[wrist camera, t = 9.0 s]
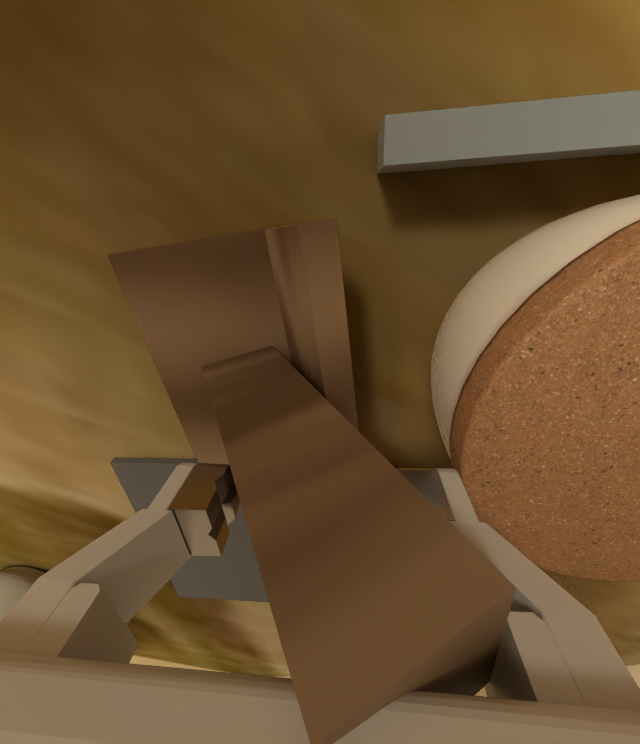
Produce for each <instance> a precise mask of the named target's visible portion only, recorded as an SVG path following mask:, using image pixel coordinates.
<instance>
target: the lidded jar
mask: <svg viewBox="0 0 640 744" xmlns="http://www.w3.org/2000/svg"><path fill="white" fill-rule="evenodd" d="M430 378H431V392H432V403H433V408H434V412H435V416H436V420H437V424H438V427H439V430H440V434H441V437H442V440H443V442H444V445H445V448H446V450H447V453H448V455H449V458H450V460H451V465H452V468H453V469H456V470H457V471H458V473H459V476H460V478H461V480H462V483H463V485H464V487H465V490H466V492H467V494H468V497H469V499H470V501H471V504H472V506H473V508H474V511H475V513H476V515H477V518H478V520H479V522H484V523H487V524H488V525H489V526H490V527H492V528H493V529H494V530H495V531H496V532H497V533H499V534H500V535H501V536H502V537H503V538H505V539H506V540H507V541H508V542H509V543H510V544H512V545H513V546H514V547H515V548H516V549H517V550H519V551H520V552H521V553H522V554H523V555H525V556H526V557H527V558H528V559H529V560H530V561H532V562H533V563H534V564H535V565H536V566H538V567H541V568H544V569H547V570H549V571H552V572H555V573H560V574H565V575H570V576H575V577H580V578H588V579H597V580H606V581H640V195H635V196H631V197H627V198H623V199H619V200H615V201H611V202H606V203H602V204H598V205H595V206H593V207H590V208H587V209H584V210H582V211H579V212H576V213H573V214H571V215H568V216H566V217H563V218H561V219H558V220H555V221H553V222H550V223H548V224H546V225H544V226H542V227H540V228H538V229H536V230H535V231H533V232H531V233H529V234H527V235H526V236H524V237H522V238H520V239H519V240H517V241H516V242H514V243H513V244H512V245H510V246H509V247H507V248H506V249H505V250H503V251H502V252H501V253H499V254H498V255H496V256H495V257H494V258H492V259H491V260H490V261H489V262H488V263H487V264H485V265H484V266H483V267H482V268H481V269H480V270H479V271H478V272H477V273H476V274H475V275H474V276H473V277H472V278H471V279H470V280H469V282H468V283H467V284H466V285H465V286H464V288H463V289H462V290H461V291H460V292H459V294H458V295H457V297H456V298H455V300H454V301H453V303H452V305H451V306H450V308H449V309H448V311H447V313H446V315H445V317H444V320H443V322H442V324H441V326H440V329H439V331H438V334H437V338H436V341H435V345H434V349H433V352H432V359H431V370H430Z"/></svg>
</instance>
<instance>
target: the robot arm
mask: <svg viewBox="0 0 640 744" xmlns="http://www.w3.org/2000/svg"><path fill="white" fill-rule="evenodd" d="M398 471H399V472H400V473H401V474H402V475H403V476H404V477H405V478H406V479H407V480H408V481H409V482H410V483H411V484H412V485H413V486H414V487H415V488H416V489H417V490H418V491H419V492H420V493H421V494H422V495H423V496H424V497H425V498H426V499H427V500H428V501H429V502H430V503H431V504H432V505H433V506H434V507H435V508H436V509H437V510H438V511H439V512H440V513H441V514H442V515H443V516H444V517H445V518H446V519H447V520H448V521H449V522H450V523H451V524H452V525H453V526H454V527H455V528H456V529H457V530H458V531H459V532H460V533H461V534H462V535H463V536H464V537H465V538H466V539H467V540H468V541H469V542H470V543H471V544H472V545H473V546H474V547H475V548H476V549H477V550H478V551H479V552H480V553H481V554H482V555H483V556H484V557H485V558H486V559H487V560H488V561H489V562H490V563H491V564H492V565H493V566H494V567H495V568H496V569H497V570H498V571H499V572H501V573H502V574H503V575H504V576H505V577H506V578H507V579H508V580H509V581H510V582H511V583H512V584H513V585H514V586H515V587H516V590H515V594H514V597H513V601H512V605H511V608H510V612H509V615H508V619H507V622H506V626H505V629H504V633H503V636H502V640H501V644H500V647H499V651H498V654H497V658H496V661H495V665H494V668H493V672H492V675H491V679H490V682H489V683H488V684H486V685H485V686H484V687H485V690H486V694H487V697H482V696H471V695H460V694H450V693H439V692H428V691H418V690H417V691H412V692H410V693H408V694H405V695H404V696H402V697H400V698H398V699H397V700H395V701H393V702H392V703H390V704H389V705H387V706H386V707H384V708H383V709H381V710H380V711H378V712H377V713H376V714H374V715H373V716H371V717H370V718H369V719H367V720H366V721H364V722H363V723H362V724H360V725H359V726H357V727H356V728H355V729H353V730H352V731H350V732H349V733H348V734H346V735H345V736H343V737H342V738H341V739H339V740H338V741H337V742H335V743H334V744H640V689H639V687H638V686H637V684H636V682H635V681H634V679H633V677H632V676H631V674H630V672H629V671H628V670H627V667H626V666H625V664H624V663H623V661H622V659H621V658H620V656H619V654H618V653H617V651H616V649H615V648H614V646H613V645H612V643H611V641H610V640H609V638H608V636H607V635H606V633H605V631H604V630H603V628H602V626H601V625H600V623H599V622H598V620H597V618H596V617H595V615H594V614H593V613H592V612H590V611H589V610H588V609H587V608H586V607H584V606H583V605H582V604H581V603H580V602H579V601H577V600H576V599H575V598H574V597H573V596H572V595H570V594H569V593H568V592H567V591H566V590H564V589H563V588H562V587H561V586H560V585H559V584H557V583H556V582H555V581H554V580H553V579H552V578H550V577H549V576H548V575H547V574H546V573H544V572H543V571H542V570H541V569H540V568H539V567H537V566H536V565H535V564H534V563H533V562H532V561H530V560H529V559H528V558H527V557H526V556H525V555H523V554H522V553H521V552H520V551H519V550H517V549H516V548H515V547H514V546H513V545H512V544H510V543H509V542H508V541H507V540H506V539H505V538H503V537H502V536H501V535H500V534H499V533H497V532H496V531H495V530H494V529H493V528H492V527H490V526H489V525H488V524H487V523H484V522H479V520H478V518H477V515H476V513H475V511H474V508H473V506H472V504H471V501H470V499H469V497H468V494H467V492H466V490H465V487H464V485H463V483H462V480H461V478H460V476H459V473H458V471H457V470H456V469H446V468H436V469H434V468H398ZM233 479H234V478H233V475H232V471H231V468H230V464H212V463H185V462H182V463H180V464H179V465H177V466H176V468H175V469H174V471H173V472H172V474H171V475H170V477H169V478H168V480H167V481H166V483H165V484H164V485H163V487H162V488H161V490H160V491H159V493H158V494H157V496H156V497H155V499H154V500H153V501H152V503H151V504H150V506H149V507H148V509H141V510H140V511H138V512H137V513H135V514H134V515H132V516H131V517H129V518H128V519H126V520H125V521H123V522H122V523H120V524H119V525H117V526H116V527H114V528H113V529H111V530H110V531H108V532H107V533H105V534H104V535H102V536H101V537H99V538H98V539H96V540H95V541H93V542H92V543H90V544H89V545H87V546H86V547H84V548H83V549H81V550H80V551H78V552H77V553H75V554H74V555H72V556H71V557H69V558H68V559H66V560H65V561H63V562H62V563H60V564H59V565H57V566H56V567H54V568H53V569H51V570H50V571H48V572H47V573H45V574H44V575H42V576H41V577H39V578H38V579H37V580H36V582H35V583H34V584H33V585H32V586H31V587H30V589H29V590H28V591H27V592H26V593H25V594H24V596H23V597H22V598H21V599H20V600H19V601H18V603H17V604H16V605H15V606H14V607H13V608H12V610H11V611H10V612H9V613H8V614H7V616H6V617H5V618H4V619H3V620H2V621H1V623H0V744H310V741H309V738H308V734H307V731H306V727H305V724H304V720H303V717H302V713H301V710H300V706H299V703H298V700H297V696H296V693H295V689H294V686H293V682H292V679H290V678H279V677H268V676H258V675H247V674H236V673H225V672H215V671H203V670H193V669H183V668H172V667H160V666H151V665H140V664H129V662H130V660H131V658H132V656H133V654H134V652H135V649H136V647H137V640H136V638H135V636H134V635H133V633H132V632H131V630H130V629H129V628H128V626H127V625H126V624H127V623H128V622H129V621H130V620H131V619H132V618H133V617H134V616H135V615H136V613H137V612H138V611H139V610H140V609H141V608H142V607H143V606H144V605H145V604H146V603H147V602H148V601H149V600H150V599H151V598H152V597H153V596H154V595H155V594H156V593H157V592H158V591H159V590H160V589H161V588H162V587H163V586H164V585H165V584H166V583H167V582H168V581H169V580H170V578H171V577H172V576H173V575H174V574H175V573H176V572H177V571H178V570H179V569H180V568H181V567H182V566H183V565H184V564H185V563H186V562H187V561H188V560H189V559H190V558H191V556H221V555H222V553H223V550H224V547H225V545H226V542H227V539H228V537H229V534H230V532H229V528H228V524H230V523H231V522H232V521H233V520H234V519H235V518H236V515H237V512H238V509H239V503H240V499H239V496H238V492H237V489H236V485H235V482H234V481H233Z"/></svg>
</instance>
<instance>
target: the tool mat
mask: <svg viewBox="0 0 640 744" xmlns="http://www.w3.org/2000/svg"><path fill="white" fill-rule="evenodd" d="M182 462H185V463H198V461H197V459H146V458H114V459H113V460H112V461H111V462H110V463H111V465H112V467H113V469H114V471H115V473H116V475H117V477H118V479H119V481H120V483H121V485H122V487H123V489H124V490H125V492H126V494H127V496H128V498H129V500H130V502H131V504H132V506H133V508H134V510H135V512H136V513H137V512H138V511H140V510H141V509H148V507H149V506H150V504H151V503H152V501H153V500H154V499H155V497H156V496H157V494H158V493H159V491H160V490H161V488H162V487H163V485H164V484H165V483H166V481H167V480H168V478H169V477H170V475H171V474H172V472H173V471H174V469H175V468H176V466H177V465H179V464H180V463H182ZM228 528H229V532H230V534H229V537H228V539H227V542H226V545H225V547H224V550H223V553H222V555H221V556H191V558H190V559H189V560H188V561H187V562H186V563H185V564H184V565H183V566H182V567H181V568H180V569H179V570H178V571H177V572H176V573H175V574H174V575H173V576H172V577H171V578H170V580H171V582H172V584H173V586H174V588H175V589H176V591H177V593H178V595H179V597H193V598H209V599H225V600H241V601H257V602H269V599H268V596H267V592H266V589H265V585H264V582H263V579H262V575H261V572H260V568H259V565H258V561H257V558H256V554H255V551H254V547H253V544H252V541H251V537H250V534H249V530H248V527H247V523H246V520H245V516H244V513H243V509H242V506H241V502H240V503H239V509H238V512H237V515H236V518H235V519H234V520H233V521H232V522H231V523H230V524H228Z"/></svg>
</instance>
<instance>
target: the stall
mask: <svg viewBox="0 0 640 744" xmlns="http://www.w3.org/2000/svg"><path fill="white" fill-rule="evenodd" d="M635 153H640V90H635V91H625V92H614V93H604V94H594V95H584V96H574V97H563V98H553V99H543V100H533V101H523V102H513V103H502V104H492V105H482V106H472V107H462V108H451V109H441V110H431V111H421V112H411V113H400V114H390V115H385V116H384V119H383V122H382V124H381V127H380V129H379V132H378V139H377V174H382V173H395V172H408V171H420V170H433V169H445V168H458V167H471V166H483V165H496V164H508V163H521V162H534V161H546V160H559V159H572V158H584V157H597V156H609V155H622V154H635ZM396 469H397V470H398V468H396Z"/></svg>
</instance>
